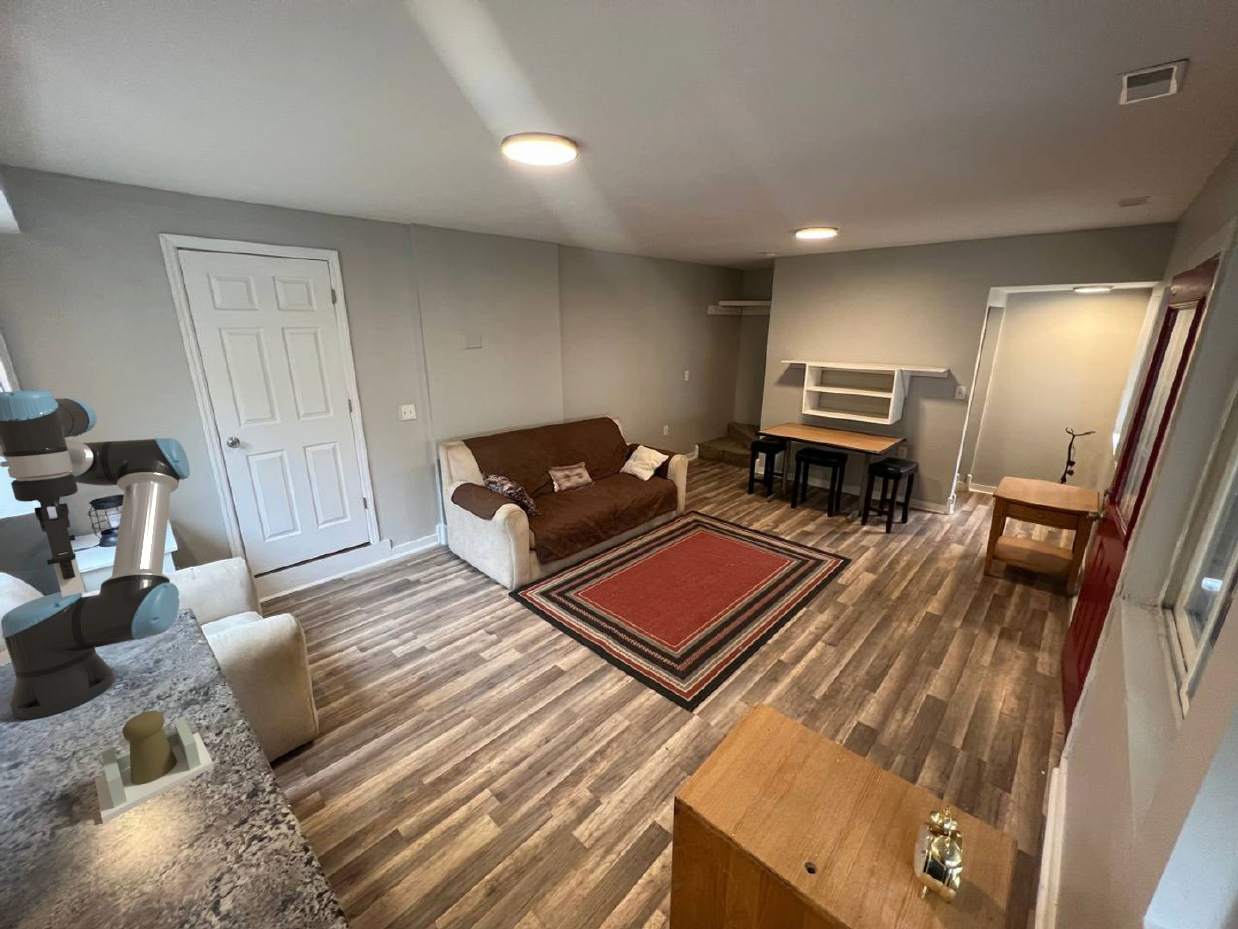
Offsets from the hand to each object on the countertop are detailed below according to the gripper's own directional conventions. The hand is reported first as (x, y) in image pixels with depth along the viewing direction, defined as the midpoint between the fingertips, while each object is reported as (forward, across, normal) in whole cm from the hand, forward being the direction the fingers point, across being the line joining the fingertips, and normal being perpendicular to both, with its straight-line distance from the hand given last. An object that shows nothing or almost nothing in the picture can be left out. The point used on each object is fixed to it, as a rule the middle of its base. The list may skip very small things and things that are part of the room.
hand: (71, 584), depth 91 cm
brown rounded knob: (+31, +24, +4) cm, 39 cm away
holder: (+32, +24, +4) cm, 40 cm away
